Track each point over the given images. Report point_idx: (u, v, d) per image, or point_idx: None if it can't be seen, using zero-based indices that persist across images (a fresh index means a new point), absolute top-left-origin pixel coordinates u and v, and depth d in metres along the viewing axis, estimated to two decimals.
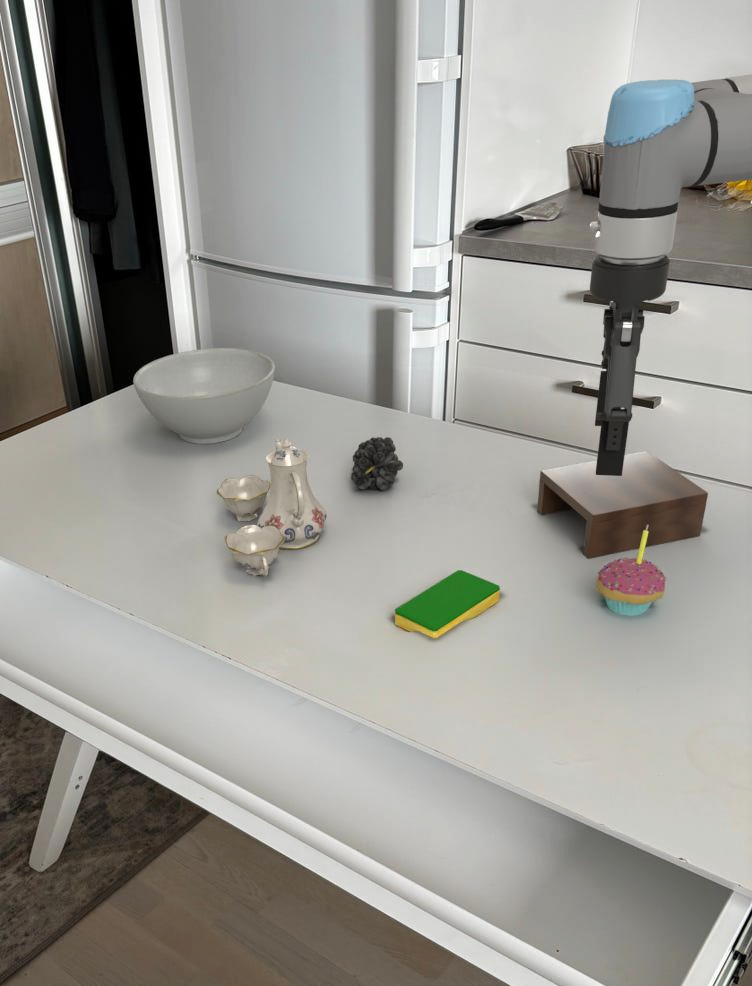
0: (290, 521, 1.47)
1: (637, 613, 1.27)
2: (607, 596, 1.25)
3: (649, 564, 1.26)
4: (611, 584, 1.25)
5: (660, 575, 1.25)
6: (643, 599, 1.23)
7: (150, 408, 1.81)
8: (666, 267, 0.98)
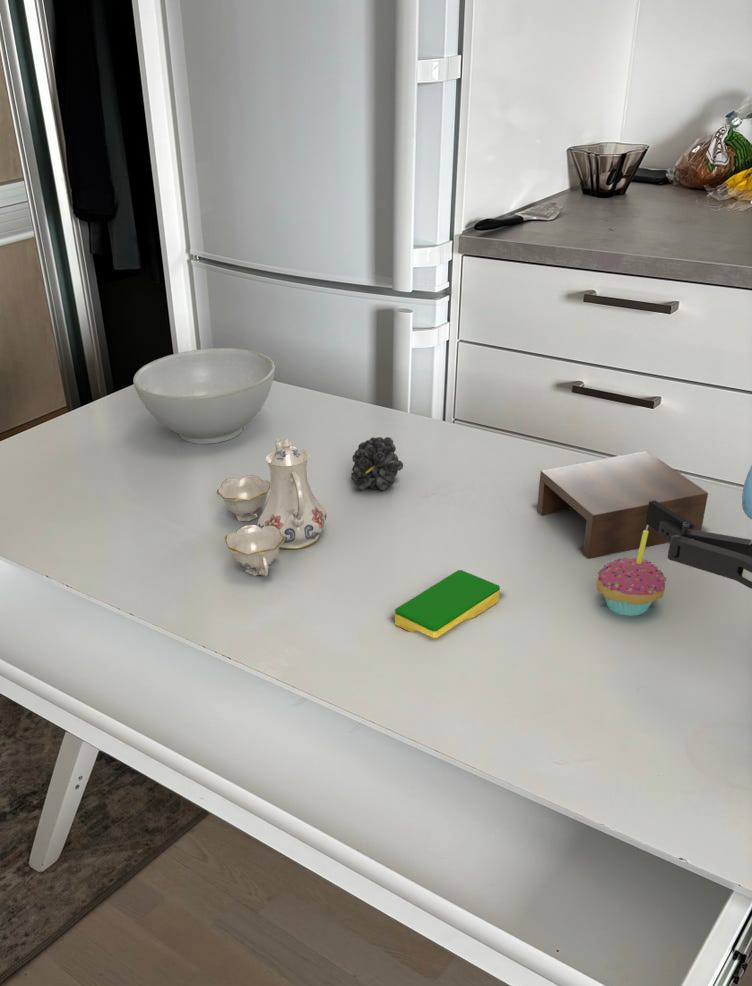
0: (290, 521, 1.47)
1: (637, 613, 1.27)
2: (607, 596, 1.25)
3: (649, 564, 1.26)
4: (611, 584, 1.25)
5: (660, 575, 1.25)
6: (643, 599, 1.23)
7: (150, 408, 1.81)
8: None
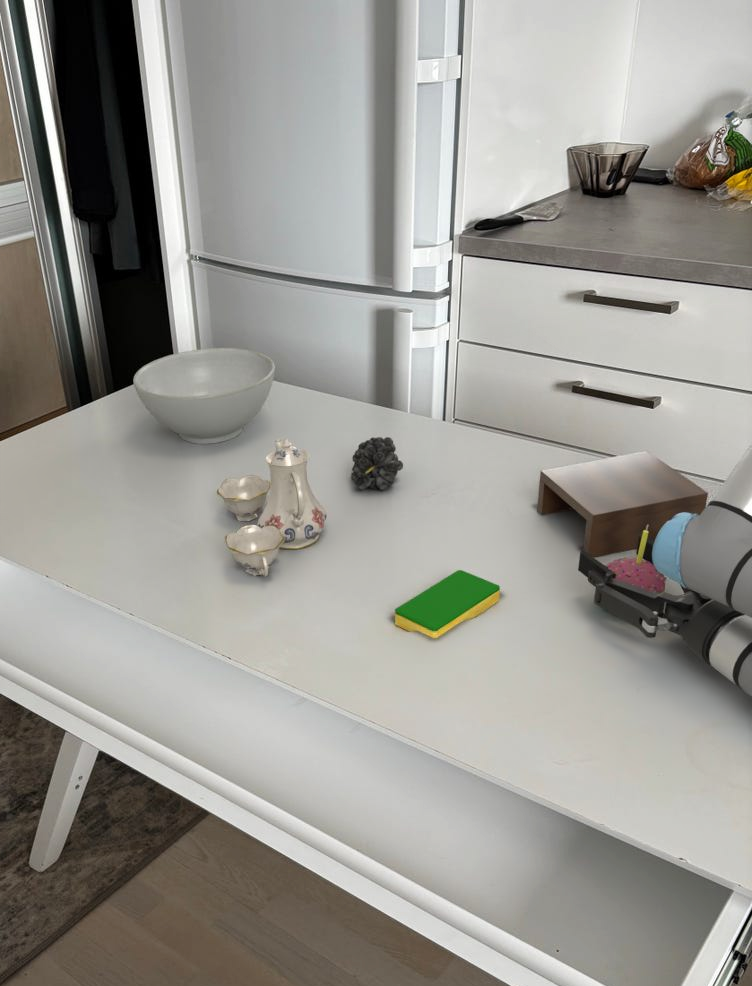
0: (290, 521, 1.47)
1: None
2: None
3: (649, 564, 1.26)
4: None
5: (660, 575, 1.25)
6: None
7: (150, 408, 1.81)
8: None
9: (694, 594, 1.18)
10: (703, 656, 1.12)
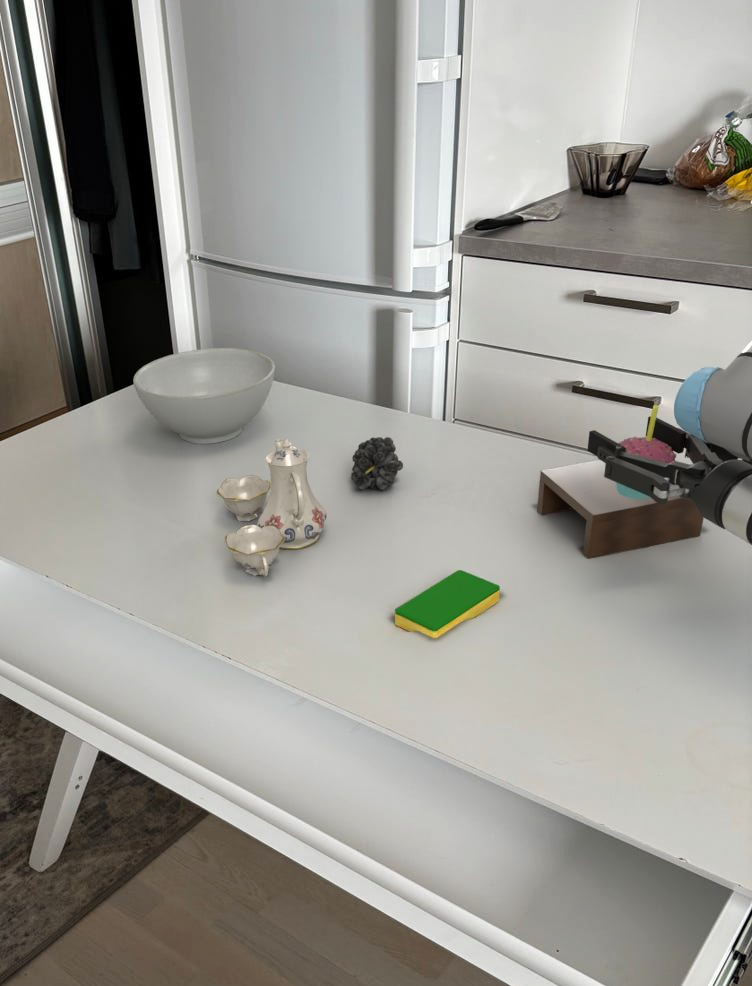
0: (290, 521, 1.47)
1: None
2: None
3: (659, 441, 1.25)
4: None
5: (670, 451, 1.24)
6: None
7: (150, 408, 1.81)
8: None
9: (706, 463, 1.17)
10: (715, 518, 1.11)
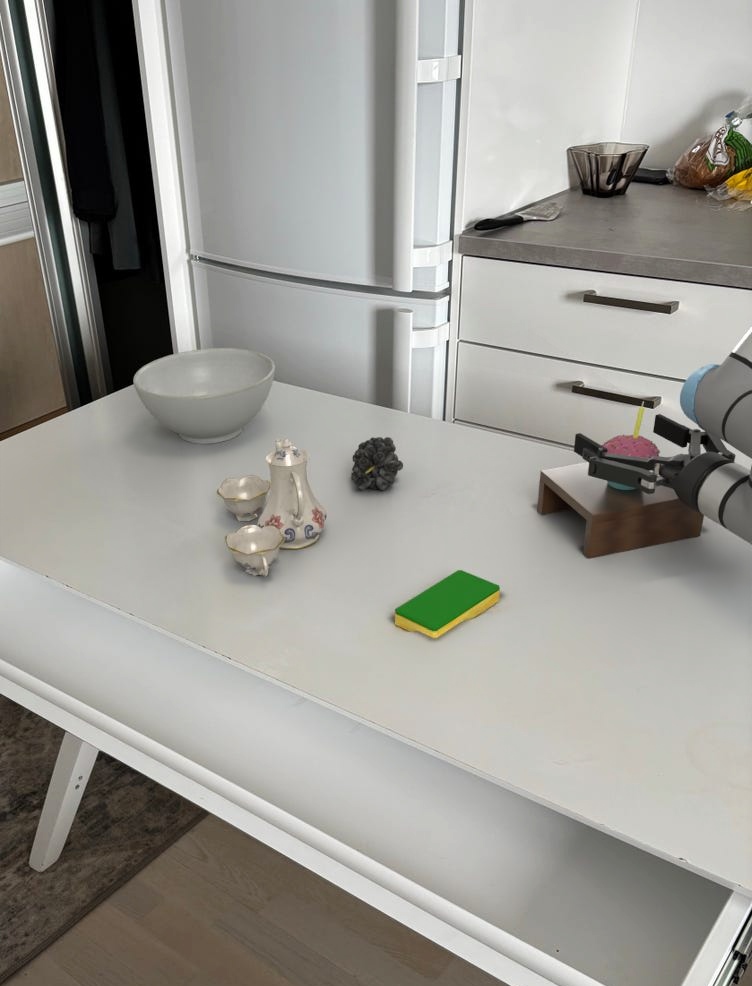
0: (290, 521, 1.47)
1: None
2: None
3: (645, 439, 1.41)
4: None
5: (654, 447, 1.39)
6: None
7: (150, 408, 1.81)
8: (729, 459, 1.25)
9: (685, 455, 1.32)
10: (692, 504, 1.27)
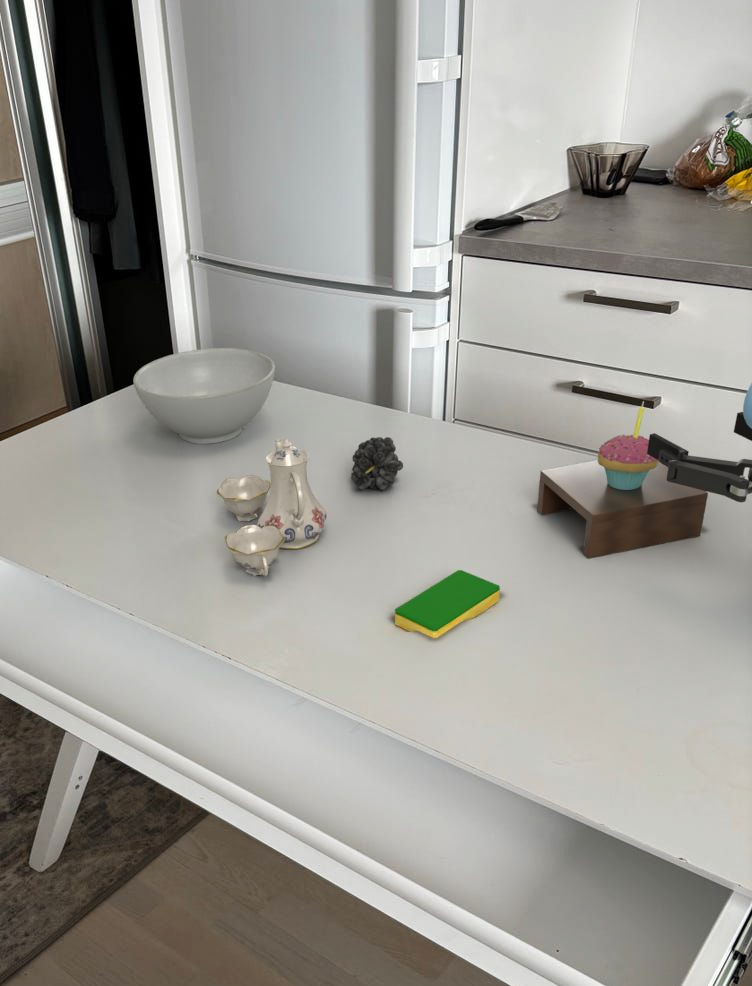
0: (290, 521, 1.47)
1: (634, 483, 1.41)
2: (607, 467, 1.40)
3: (645, 439, 1.41)
4: (610, 455, 1.39)
5: None
6: (639, 468, 1.38)
7: (150, 408, 1.81)
8: None
9: None
10: None
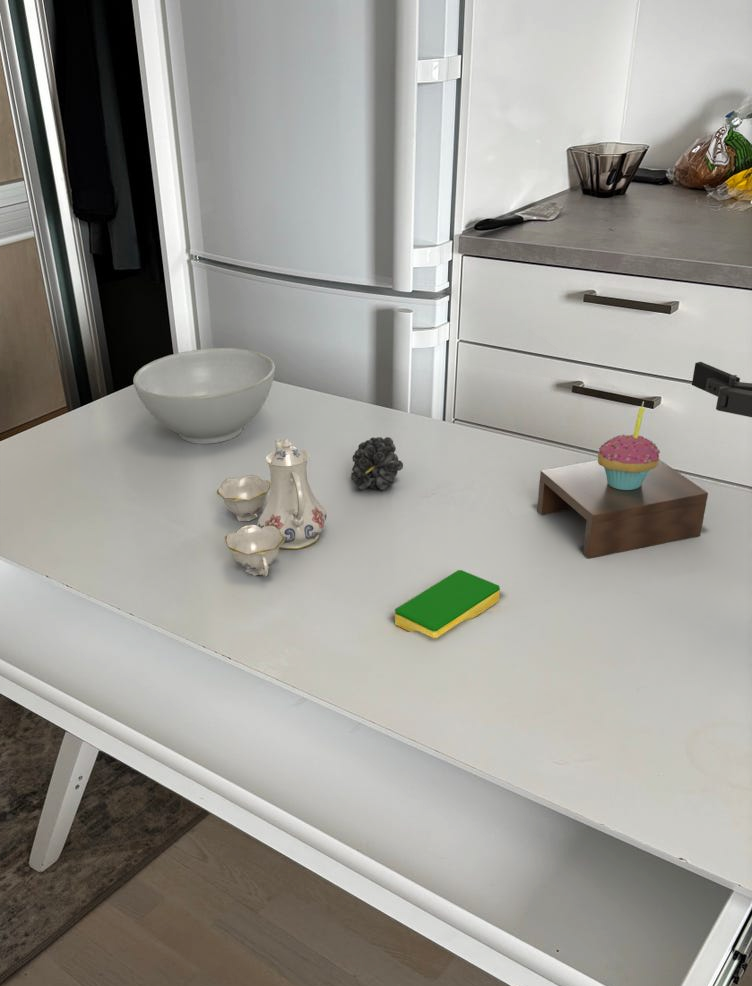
0: (290, 521, 1.47)
1: (634, 483, 1.41)
2: (607, 467, 1.40)
3: (645, 439, 1.41)
4: (610, 455, 1.39)
5: (654, 447, 1.39)
6: (639, 468, 1.38)
7: (150, 408, 1.81)
8: None
9: None
10: None
